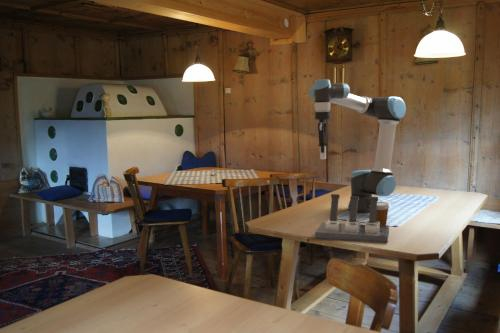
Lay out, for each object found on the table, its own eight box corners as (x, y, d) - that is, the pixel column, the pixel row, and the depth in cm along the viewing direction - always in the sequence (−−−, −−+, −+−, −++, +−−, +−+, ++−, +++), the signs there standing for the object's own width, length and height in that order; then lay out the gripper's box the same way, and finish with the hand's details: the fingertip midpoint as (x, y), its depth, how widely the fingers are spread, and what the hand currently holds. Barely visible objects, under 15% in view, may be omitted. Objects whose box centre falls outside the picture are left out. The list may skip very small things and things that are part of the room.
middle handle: (348, 222, 223) (350, 198, 230) (356, 223, 222) (358, 198, 229) (348, 220, 221) (350, 195, 228) (356, 221, 220) (358, 196, 227)
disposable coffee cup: (390, 230, 230) (390, 205, 228) (369, 229, 232) (369, 205, 230) (388, 225, 239) (388, 201, 238) (368, 224, 241) (368, 201, 240)
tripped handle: (329, 221, 226) (331, 195, 231) (337, 221, 225) (339, 196, 230) (329, 220, 224) (331, 194, 229) (337, 220, 223) (339, 194, 228)
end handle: (368, 223, 220) (369, 198, 227) (376, 224, 219) (378, 199, 226) (368, 221, 219) (369, 196, 225) (376, 222, 217) (377, 196, 224)
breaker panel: (322, 228, 237) (322, 216, 236) (389, 232, 226) (389, 219, 226) (315, 238, 220) (315, 225, 219) (387, 243, 210) (387, 229, 209)
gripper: (317, 111, 240) (317, 157, 243) (312, 111, 228) (313, 160, 231) (332, 110, 237) (332, 157, 241) (328, 111, 225) (328, 160, 228)
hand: (323, 158), depth 236 cm, fingers closed
